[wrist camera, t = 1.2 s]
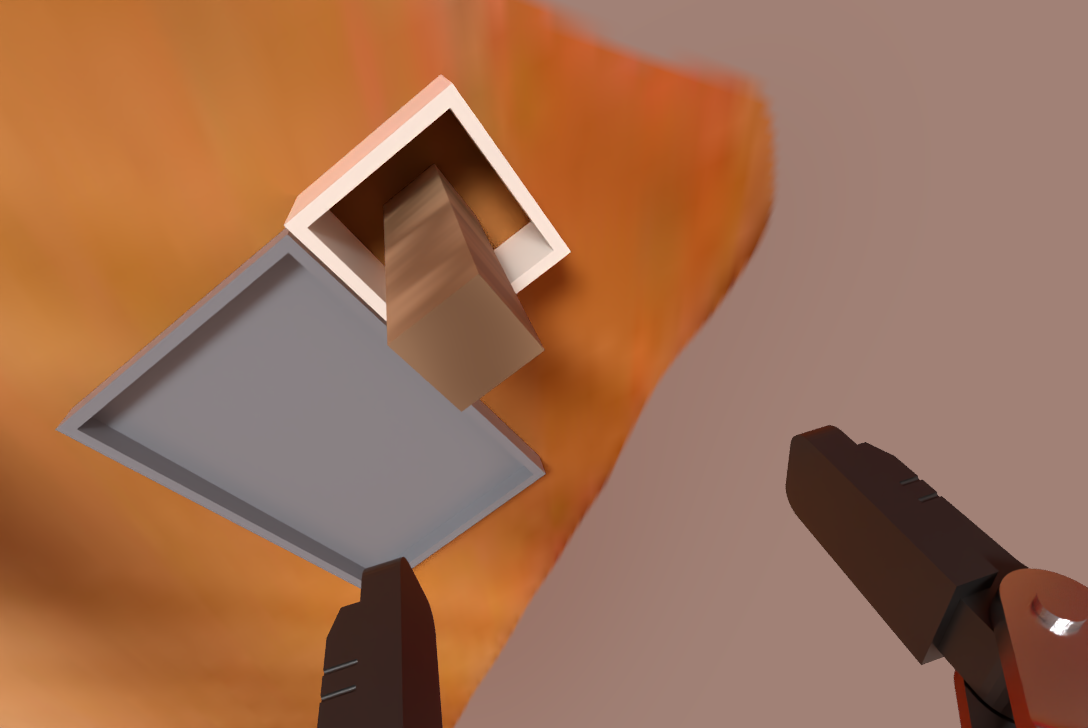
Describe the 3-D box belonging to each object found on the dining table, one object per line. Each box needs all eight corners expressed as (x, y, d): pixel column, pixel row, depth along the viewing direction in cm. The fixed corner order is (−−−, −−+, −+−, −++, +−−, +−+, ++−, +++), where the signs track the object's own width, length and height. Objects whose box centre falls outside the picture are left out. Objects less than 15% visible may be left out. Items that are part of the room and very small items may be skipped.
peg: (427, 253, 28) (461, 411, 16) (383, 205, 26) (387, 345, 15) (475, 215, 27) (544, 349, 16) (434, 163, 26) (478, 273, 14)
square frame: (422, 319, 30) (428, 360, 26) (297, 196, 25) (283, 225, 21) (546, 222, 29) (570, 251, 25) (440, 74, 24) (452, 83, 20)
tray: (374, 574, 39) (373, 595, 38) (72, 407, 27) (55, 429, 26) (539, 456, 37) (545, 473, 36) (292, 222, 25) (287, 234, 24)
